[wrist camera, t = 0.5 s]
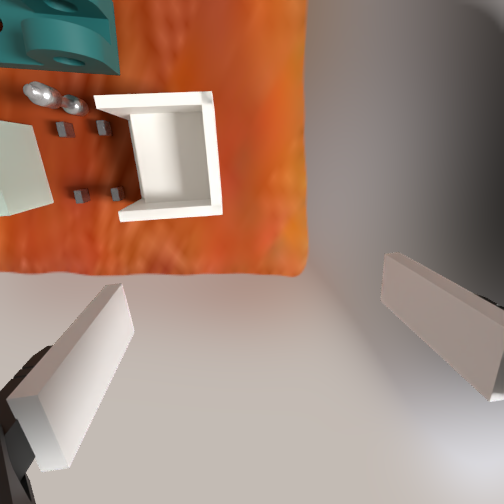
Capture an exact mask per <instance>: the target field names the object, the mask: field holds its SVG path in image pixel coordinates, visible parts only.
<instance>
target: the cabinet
mask: <svg viewBox="0 0 504 504" xmlns="http://www.w3.org/2000/svg"><path fill="white" fill-rule="evenodd" d="M94 99H95V104H96V109H99V110H102V111H105V112H107V113H110V114H113V115H115V116H118V117H121V118H124V119H126V120H128V123H129V128H130V134H131V139H132V145H133V151H134V156H135V162H136V167H137V173H138V179H139V184H140V190H141V195H142V199H140V200H138V201H136V202H135V203H133V204H131V205H129V206H128V207H126V208H124V209H122V210H120V211H119V212H118V213H119V218H120V222H125V221H139V220H154V219H168V218H182V217H196V216H210V215H222V193H221V181H220V170H219V158H218V146H217V134H216V123H215V111H214V103H213V96H212V91H208V92H179V93H150V94H122V95H94Z"/></svg>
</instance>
